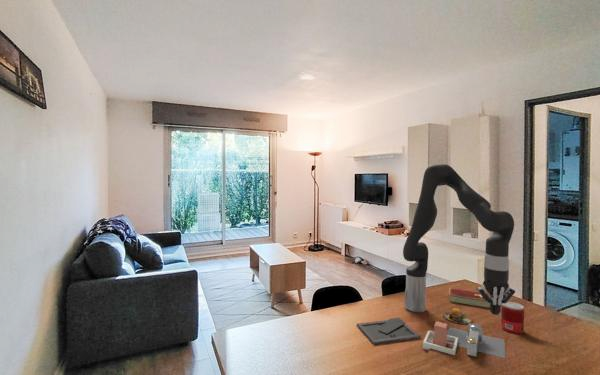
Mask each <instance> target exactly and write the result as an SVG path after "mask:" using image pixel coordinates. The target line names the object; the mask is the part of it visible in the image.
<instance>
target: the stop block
mask: <svg viewBox="0 0 600 375" xmlns="http://www.w3.org/2000/svg"><path fill="white" fill-rule="evenodd" d="M433 326H434V327H433V329H434V330H433V332H434V339H433V344H436V345H439V346H443V347H447V344H448V343H447V332H448V323H445V322H441V321H437V320H436V321H435V323H434V325H433Z"/></svg>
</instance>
